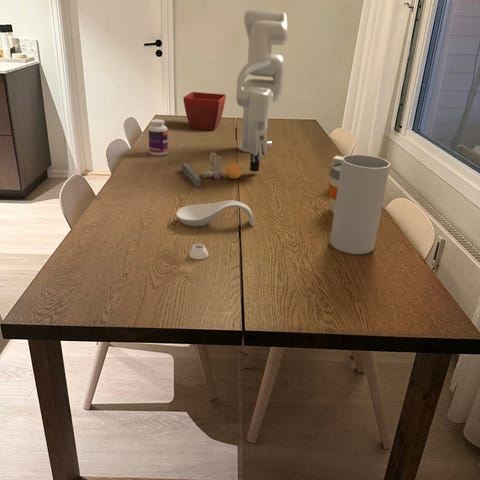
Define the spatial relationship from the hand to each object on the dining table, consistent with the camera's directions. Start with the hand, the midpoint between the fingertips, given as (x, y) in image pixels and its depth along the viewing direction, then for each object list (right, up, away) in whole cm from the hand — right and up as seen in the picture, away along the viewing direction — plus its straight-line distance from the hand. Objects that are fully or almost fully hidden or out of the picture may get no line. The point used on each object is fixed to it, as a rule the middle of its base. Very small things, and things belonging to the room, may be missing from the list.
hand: (254, 170), depth 195 cm
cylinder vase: (+26, -29, -54) cm, 67 cm away
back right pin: (-16, -2, -3) cm, 17 cm away
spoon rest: (-13, -23, -45) cm, 52 cm away
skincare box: (+31, -9, -10) cm, 34 cm away
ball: (-8, -1, -7) cm, 11 cm away
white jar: (-17, -32, -65) cm, 74 cm away
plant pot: (-25, +33, +70) cm, 81 cm away
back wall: (-24, -4, -8) cm, 26 cm away
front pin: (-12, -2, -5) cm, 13 cm away
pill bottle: (-41, +10, +19) cm, 47 cm away
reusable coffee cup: (+29, -18, -30) cm, 46 cm away
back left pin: (-15, -4, -7) cm, 17 cm away
